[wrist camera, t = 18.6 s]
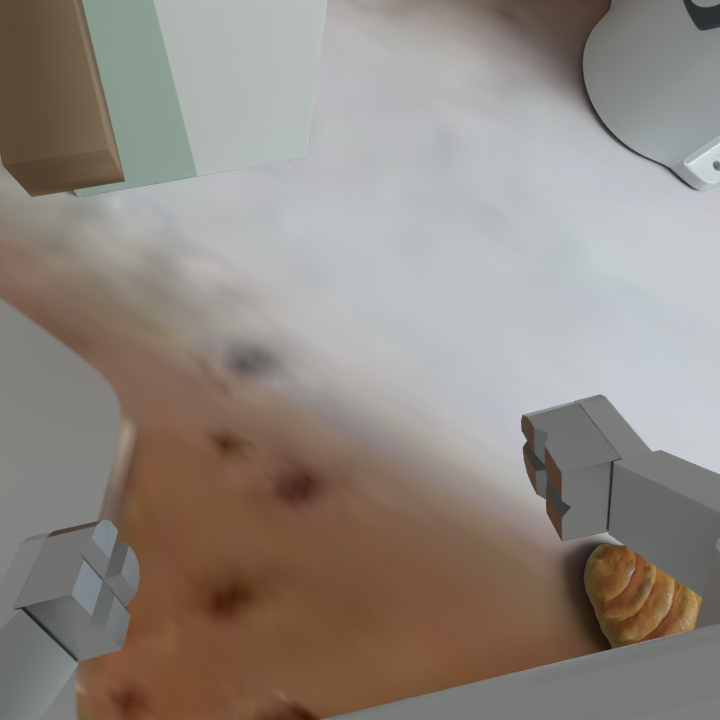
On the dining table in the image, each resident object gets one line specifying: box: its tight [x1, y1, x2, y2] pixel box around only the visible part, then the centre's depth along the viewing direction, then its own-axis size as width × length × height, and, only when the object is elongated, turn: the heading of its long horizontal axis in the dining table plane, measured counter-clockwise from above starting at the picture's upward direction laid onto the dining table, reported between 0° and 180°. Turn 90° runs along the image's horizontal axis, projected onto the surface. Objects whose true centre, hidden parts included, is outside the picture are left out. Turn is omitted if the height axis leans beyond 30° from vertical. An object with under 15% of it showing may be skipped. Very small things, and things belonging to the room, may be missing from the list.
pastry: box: [583, 544, 702, 649], centre depth 34 cm, size 9×7×4 cm
